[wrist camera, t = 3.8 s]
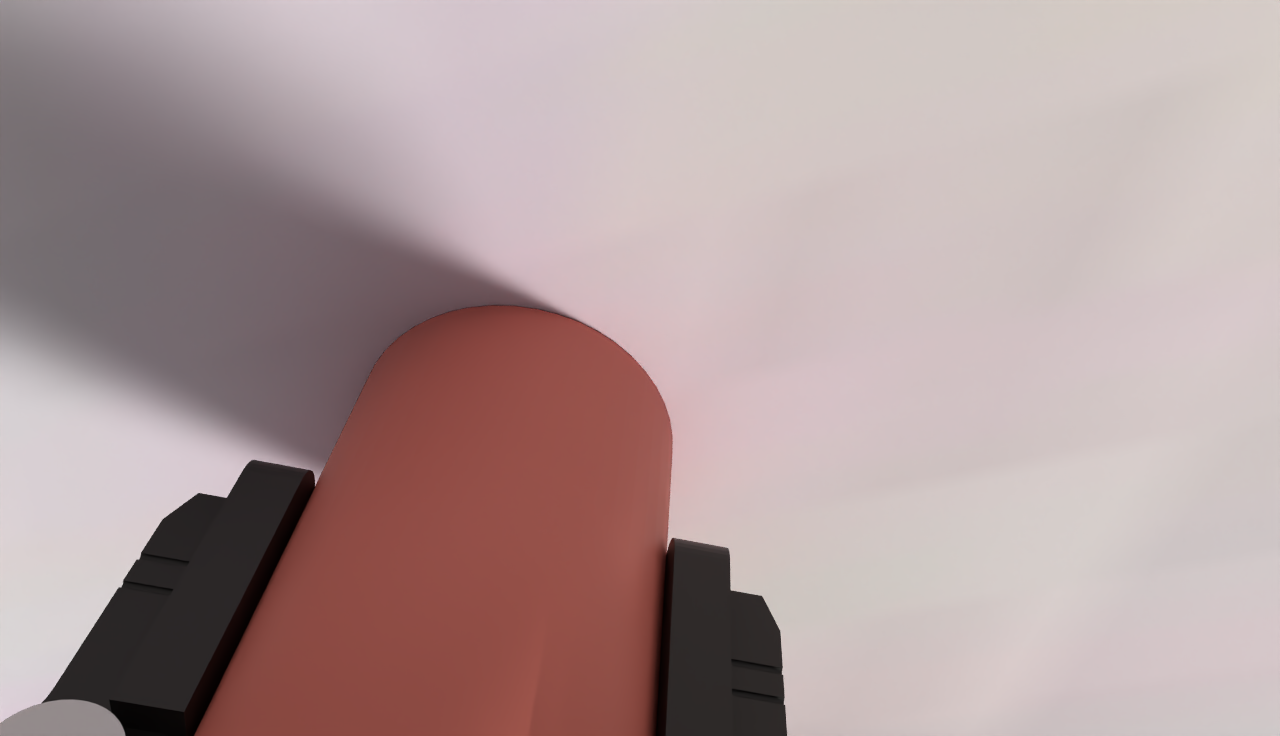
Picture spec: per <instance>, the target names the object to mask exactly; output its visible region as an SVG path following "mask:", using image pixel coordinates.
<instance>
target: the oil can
mask: <svg viewBox="0 0 1280 736" xmlns="http://www.w3.org/2000/svg"><path fill="white" fill-rule="evenodd" d="M671 466H672V430H671V423H670V418H669V415H668V412H667V409H666V406H665V403H664V401H663V399H662V397H661V395H660V393H659V391H658V389H657V387H656V386H655V384H654V383H653V381H652V380H651V379H650V377H649V376H648V374H647V373H646V372H645V370H644V369H643V368H642V367H641V366H640V365H639V364H638V363H637V362H636V361H635V360H634V358H633V357H632V356H630V355H629V354H628V353H627V352H626V351H624V350H623V349H622V348H621V347H620V346H619V345H617V344H616V343H614V342H613V341H611V340H610V339H608V338H607V337H605V336H604V335H602V334H601V333H599V332H597V331H595V330H594V329H592V328H590V327H588V326H586V325H584V324H582V323H580V322H577V321H574V320H572V319H569V318H566V317H564V316H561V315H558V314H554V313H550V312H546V311H542V310H538V309H532V308H525V307H518V306H494V305H492V306H481V307H470V308H465V309H461V310H456V311H451V312H448V313H445V314H442V315H439V316H436V317H433V318H431V319H429V320H427V321H425V322H423V323H421V324H419V325H417V326H415V327H413V328H412V329H410V330H409V331H407V332H406V333H405V334H403V335H402V336H400V337H399V338H398V339H397V340H396V341H395V342H393V343H392V344H391V345H390V346H389V347H388V348H387V349H386V350H385V351H384V353H383V354H382V356H381V357H380V358H379V360H378V361H377V362H376V364H375V365H374V367H373V369H372V371H371V373H370V375H369V377H368V379H367V381H366V383H365V385H364V387H363V389H362V391H361V393H360V396H359V398H358V400H357V402H356V404H355V406H354V408H353V410H352V412H351V414H350V416H349V418H348V420H347V422H346V424H345V426H344V428H343V430H342V432H341V435H340V437H339V439H338V441H337V443H336V445H335V447H334V449H333V451H332V453H331V455H330V457H329V459H328V461H327V463H326V465H325V467H324V469H323V472H322V474H321V476H320V478H319V480H318V482H317V484H316V486H315V488H314V490H313V492H312V494H311V496H310V498H309V500H308V502H307V504H306V506H305V509H304V511H303V513H302V515H301V517H300V519H299V521H298V523H297V525H296V527H295V529H294V531H293V533H292V535H291V537H290V539H289V541H288V543H287V545H286V548H285V550H284V552H283V554H282V556H281V558H280V560H279V562H278V564H277V566H276V568H275V570H274V572H273V574H272V576H271V578H270V580H269V582H268V585H267V587H266V589H265V591H264V593H263V595H262V597H261V599H260V601H259V603H258V605H257V607H256V609H255V611H254V613H253V615H252V617H251V619H250V621H249V624H248V626H247V628H246V630H245V632H244V634H243V636H242V638H241V640H240V642H239V644H238V646H237V648H236V650H235V652H234V654H233V656H232V658H231V661H230V663H229V665H228V667H227V669H226V671H225V673H224V675H223V677H222V679H221V681H220V683H219V685H218V687H217V689H216V691H215V693H214V695H213V697H212V700H211V702H210V704H209V706H208V708H207V710H206V712H205V714H204V716H203V718H202V720H201V722H200V724H199V726H198V728H197V730H196V732H195V734H194V736H656V725H657V707H658V690H659V672H660V654H661V636H662V619H663V601H664V583H665V565H666V554H667V538H668V520H669V502H670V484H671Z"/></svg>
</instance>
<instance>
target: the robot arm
mask: <svg viewBox="0 0 1280 736" xmlns="http://www.w3.org/2000/svg"><path fill="white" fill-rule="evenodd" d="M314 488H315V478H314V473H313V471H311V470H306V469H301V468H295V467H290V466H284V465H279V464H273V463H268V462H262V461H257V460H252V461H250V462H249V463H248V464H247V465H246V467H245V468H244V470H243V471H242V473H241V475H240V476H239V478H238V480H237V482H236V483H235V485H234V487H233V488H232V490H231V492H230V494H229V495H228V497H227V498H224V497H218V496H213V495H207V494H202V493H198V494H197V495H195V496H194V497H193V498H191V499H190V500H188V501H187V502H186V503H184V504H183V505H182V506H180V507H179V508H178V509H176V510H175V511H173V512H172V513H171V514H169V515H168V516H167V517H165V518H164V519H163V520H162V521H161V523H160V524H159V526H158V527H157V529H156V531H155V532H154V534H153V535H152V537H151V538H150V540H149V541H148V543H147V545H146V546H145V548H144V549H143V551H142V552H141V557H140V559H139V560H136V562H135V563H134V565H133V566H132V568H131V569H130V571H129V572H128V574H127V575H126V577H125V579H124V580H123V585H122V587H121V588H120V587H119V588H118V589H117V591H116V593H115V594H114V596H113V597H112V599H111V600H110V602H109V603H108V605H107V606H106V608H105V610H104V611H103V613H102V614H101V616H100V617H99V619H98V620H97V622H96V624H95V625H94V627H93V628H92V630H91V631H90V633H89V634H88V636H87V637H86V639H85V641H84V642H83V644H82V645H81V647H80V648H79V650H78V651H77V653H76V655H75V656H74V658H73V659H72V661H71V662H70V664H69V665H68V667H67V668H66V670H65V672H64V673H63V675H62V676H61V678H60V679H59V681H58V682H57V684H56V685H55V687H54V688H53V690H52V691H51V692H50V694H49V695H48V696H47V698H46V699H45V700H44V701H43V702H42V703H41V704H38V705H34V706H32V707H29V708H27V709H24V710H22V711H20V712H18V713H16V714H14V715H12V716H10V717H9V718H7V719H6V720H4V721H3V722H1V723H0V736H194V734H195V732H196V730H197V728H198V726H199V724H200V722H201V720H202V718H203V716H204V714H205V712H206V710H207V708H208V706H209V704H210V702H211V700H212V697H213V695H214V693H215V691H216V689H217V687H218V685H219V683H220V681H221V679H222V677H223V675H224V673H225V671H226V669H227V667H228V665H229V663H230V661H231V658H232V656H233V654H234V652H235V650H236V648H237V646H238V644H239V642H240V640H241V638H242V636H243V634H244V632H245V630H246V628H247V626H248V624H249V621H250V619H251V617H252V615H253V613H254V611H255V609H256V607H257V605H258V603H259V601H260V599H261V597H262V595H263V593H264V591H265V589H266V587H267V585H268V582H269V580H270V578H271V576H272V574H273V572H274V570H275V568H276V566H277V564H278V562H279V560H280V558H281V556H282V554H283V552H284V550H285V548H286V545H287V543H288V541H289V539H290V537H291V535H292V533H293V531H294V529H295V527H296V525H297V523H298V521H299V519H300V517H301V515H302V513H303V511H304V509H305V506H306V504H307V502H308V500H309V498H310V496H311V494H312V492H313V490H314ZM782 668H783V666H782V651H781V636H780V630H779V628H778V626H777V624H776V622H775V620H774V618H773V616H772V614H771V612H770V610H769V608H768V606H767V605H766V603H765V601H764V599H763V597H762V596H758V595H753V594H747V593H742V592H736V591H731V590H730V554H729V549H728V548H725V547H720V546H714V545H709V544H703V543H698V542H693V541H687V540H682V539H676V538H672V540H671V542H670V544H669V547H668V550H667V554H666V565H665V583H664V601H663V619H662V636H661V654H660V672H659V690H658V707H657V725H656V736H787V728H786V712H785V705H784V698H785V697H784V682H783V675H782Z"/></svg>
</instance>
